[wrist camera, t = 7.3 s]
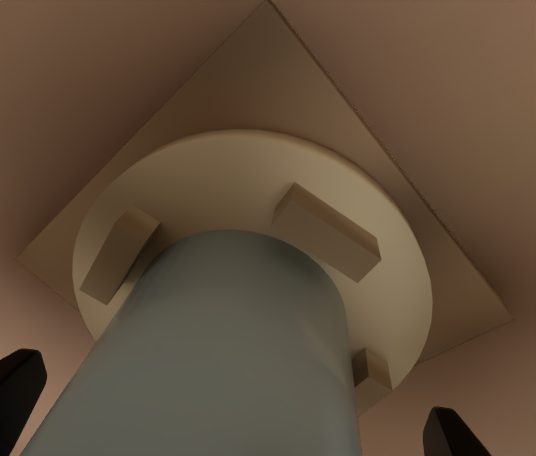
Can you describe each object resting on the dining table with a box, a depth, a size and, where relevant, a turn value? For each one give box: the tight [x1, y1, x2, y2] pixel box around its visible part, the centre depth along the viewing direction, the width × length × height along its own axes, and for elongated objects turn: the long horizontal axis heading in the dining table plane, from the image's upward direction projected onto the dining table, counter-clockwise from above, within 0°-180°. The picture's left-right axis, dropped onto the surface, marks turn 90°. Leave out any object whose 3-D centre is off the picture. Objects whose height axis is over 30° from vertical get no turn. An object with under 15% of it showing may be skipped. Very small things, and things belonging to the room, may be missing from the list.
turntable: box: [72, 129, 433, 417], centre depth 11 cm, size 10×10×2 cm
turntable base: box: [15, 0, 514, 366], centre depth 13 cm, size 11×11×1 cm
